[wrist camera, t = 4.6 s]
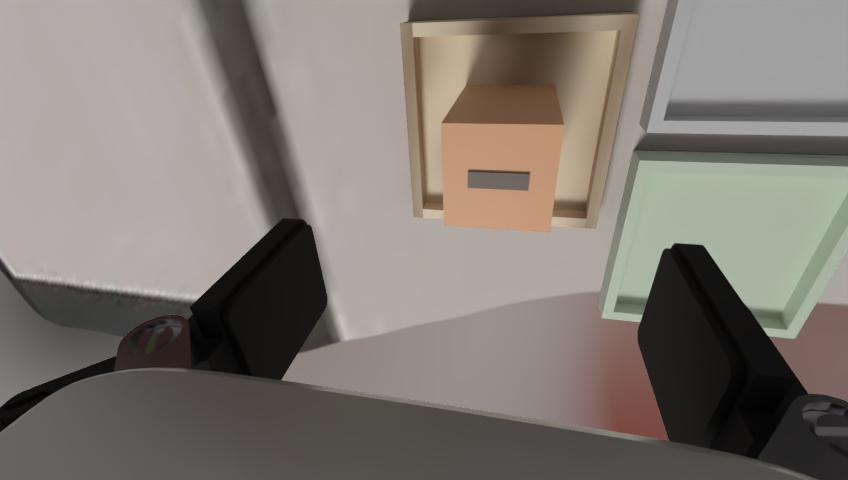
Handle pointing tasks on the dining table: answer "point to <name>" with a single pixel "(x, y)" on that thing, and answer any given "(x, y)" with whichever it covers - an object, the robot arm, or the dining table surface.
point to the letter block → (502, 157)
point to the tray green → (733, 228)
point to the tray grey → (750, 68)
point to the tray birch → (521, 65)
